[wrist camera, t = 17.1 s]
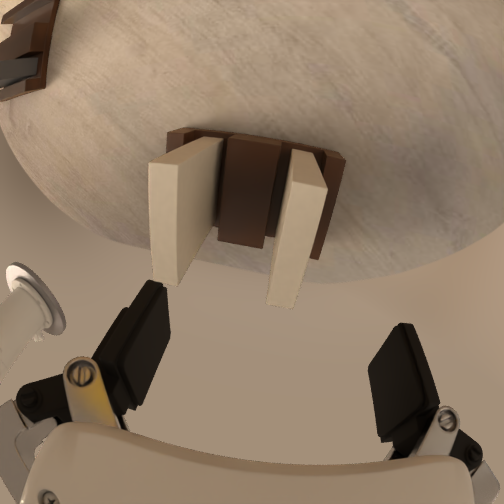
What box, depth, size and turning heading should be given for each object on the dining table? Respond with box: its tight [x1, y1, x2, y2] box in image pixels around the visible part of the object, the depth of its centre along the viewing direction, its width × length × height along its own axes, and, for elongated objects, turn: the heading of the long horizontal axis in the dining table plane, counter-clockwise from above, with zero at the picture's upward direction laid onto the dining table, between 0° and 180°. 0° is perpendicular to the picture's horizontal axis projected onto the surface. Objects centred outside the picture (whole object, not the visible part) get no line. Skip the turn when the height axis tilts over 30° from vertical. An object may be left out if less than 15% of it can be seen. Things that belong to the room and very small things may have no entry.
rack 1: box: [0, 0, 60, 102], centre depth 15 cm, size 14×10×4 cm
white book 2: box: [266, 149, 328, 309], centre depth 19 cm, size 2×8×10 cm, turn 172°
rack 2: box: [166, 128, 346, 260], centre depth 23 cm, size 9×14×4 cm, turn 82°
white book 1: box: [148, 136, 224, 287], centre depth 19 cm, size 8×2×10 cm, turn 172°
